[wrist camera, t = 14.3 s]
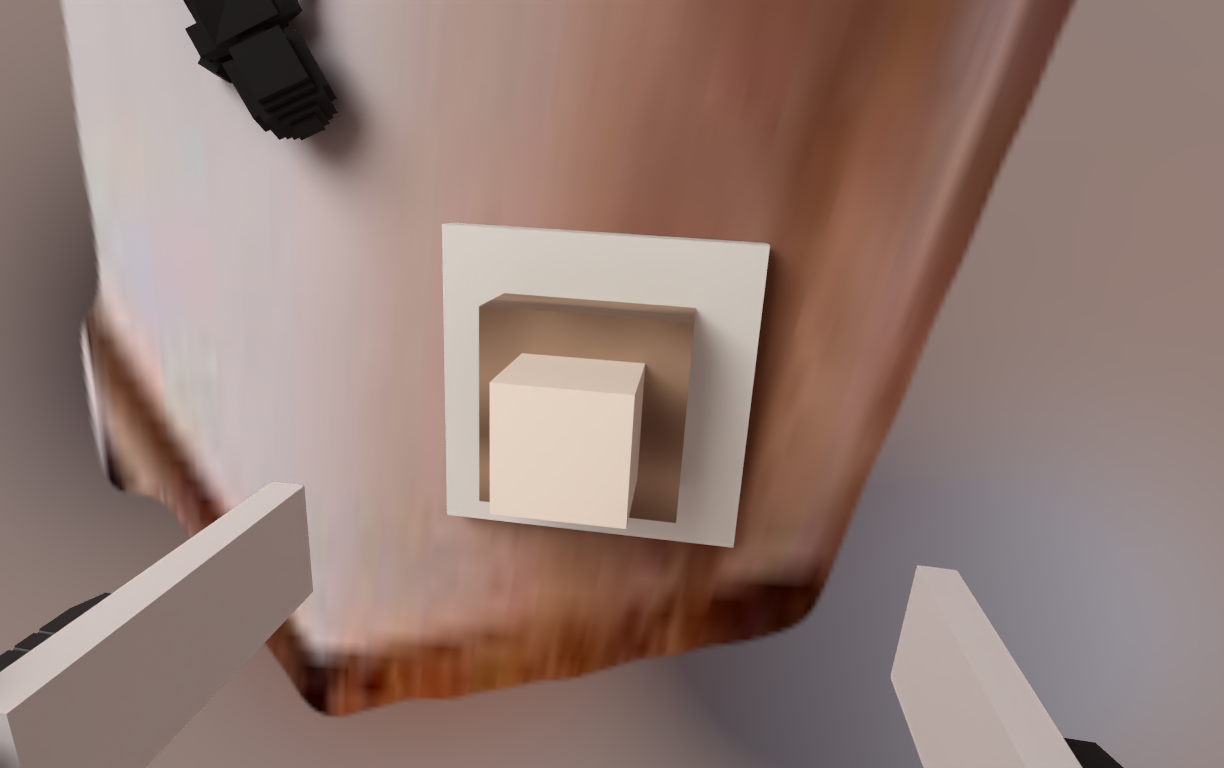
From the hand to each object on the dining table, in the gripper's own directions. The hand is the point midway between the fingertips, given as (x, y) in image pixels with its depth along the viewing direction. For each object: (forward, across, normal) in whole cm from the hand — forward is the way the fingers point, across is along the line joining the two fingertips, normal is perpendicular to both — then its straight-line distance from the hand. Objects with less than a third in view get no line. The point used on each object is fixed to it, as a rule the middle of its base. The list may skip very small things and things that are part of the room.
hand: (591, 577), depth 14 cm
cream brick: (+23, -4, -5) cm, 24 cm away
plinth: (+30, -4, -6) cm, 31 cm away
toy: (+31, -27, +16) cm, 44 cm away
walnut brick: (+28, -4, -5) cm, 29 cm away
